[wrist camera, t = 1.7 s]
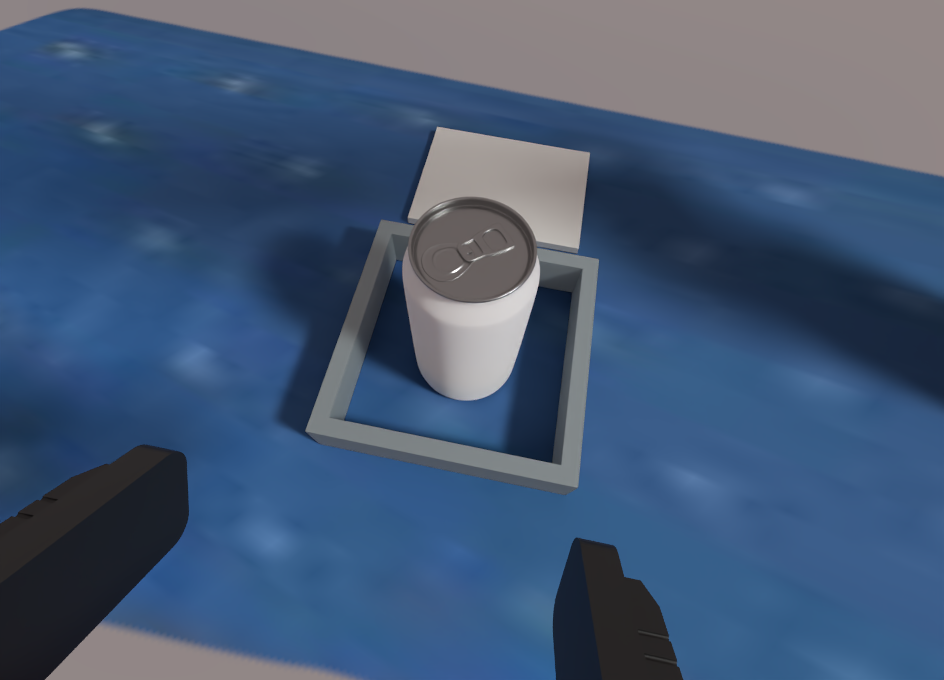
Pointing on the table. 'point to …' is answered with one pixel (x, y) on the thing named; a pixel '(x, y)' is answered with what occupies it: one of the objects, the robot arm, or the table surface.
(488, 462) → the grey square frame
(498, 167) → the mat
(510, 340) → the can
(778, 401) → the table surface
